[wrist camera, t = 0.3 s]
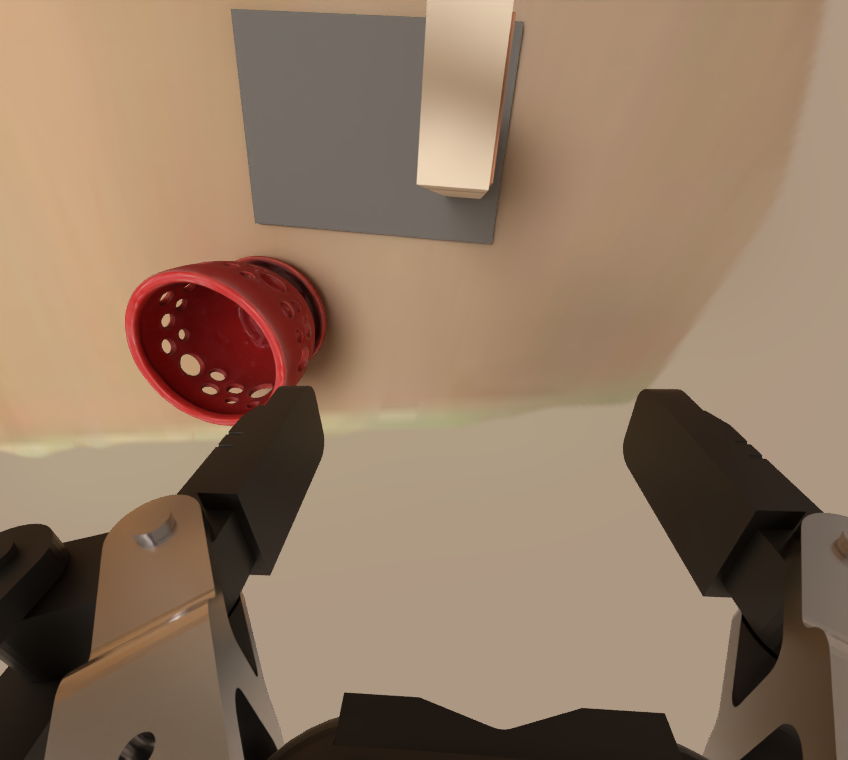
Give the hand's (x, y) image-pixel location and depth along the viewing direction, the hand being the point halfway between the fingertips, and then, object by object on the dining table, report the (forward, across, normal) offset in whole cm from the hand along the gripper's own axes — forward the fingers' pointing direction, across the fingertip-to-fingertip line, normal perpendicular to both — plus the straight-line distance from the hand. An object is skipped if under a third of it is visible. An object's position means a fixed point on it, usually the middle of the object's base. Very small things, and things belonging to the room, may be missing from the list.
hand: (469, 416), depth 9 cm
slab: (+28, -1, -6) cm, 28 cm away
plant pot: (+28, +19, +8) cm, 35 cm away
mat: (+29, +7, -8) cm, 31 cm away
